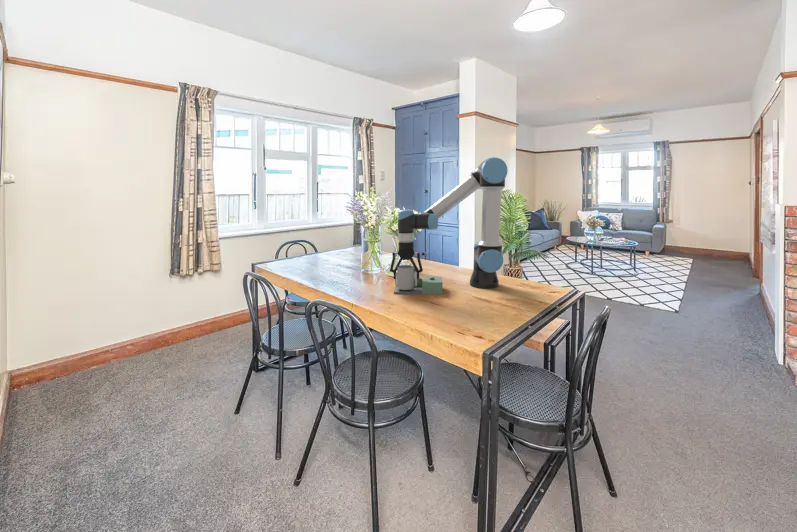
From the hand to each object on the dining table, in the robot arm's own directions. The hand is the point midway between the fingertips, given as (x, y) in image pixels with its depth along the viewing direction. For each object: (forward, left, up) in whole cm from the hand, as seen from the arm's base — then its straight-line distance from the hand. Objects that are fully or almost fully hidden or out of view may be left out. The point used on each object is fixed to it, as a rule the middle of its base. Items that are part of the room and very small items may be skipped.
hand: (406, 285), depth 198 cm
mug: (-1, 0, -1) cm, 2 cm away
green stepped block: (-7, -1, -3) cm, 8 cm away
